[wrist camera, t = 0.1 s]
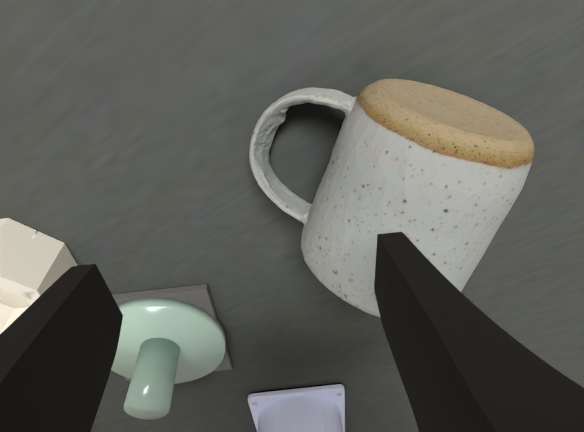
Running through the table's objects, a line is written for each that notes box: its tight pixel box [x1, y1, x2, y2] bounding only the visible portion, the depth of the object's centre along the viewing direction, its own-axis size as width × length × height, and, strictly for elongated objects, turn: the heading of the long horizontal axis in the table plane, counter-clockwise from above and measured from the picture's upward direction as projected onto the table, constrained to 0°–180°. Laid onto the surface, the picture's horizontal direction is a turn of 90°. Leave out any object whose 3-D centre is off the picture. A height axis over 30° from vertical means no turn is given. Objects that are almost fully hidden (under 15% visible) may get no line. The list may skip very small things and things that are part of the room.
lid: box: [111, 298, 226, 419], centre depth 25 cm, size 9×9×5 cm
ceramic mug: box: [249, 79, 535, 317], centre depth 17 cm, size 11×8×8 cm
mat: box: [112, 284, 232, 381], centre depth 27 cm, size 9×8×1 cm
